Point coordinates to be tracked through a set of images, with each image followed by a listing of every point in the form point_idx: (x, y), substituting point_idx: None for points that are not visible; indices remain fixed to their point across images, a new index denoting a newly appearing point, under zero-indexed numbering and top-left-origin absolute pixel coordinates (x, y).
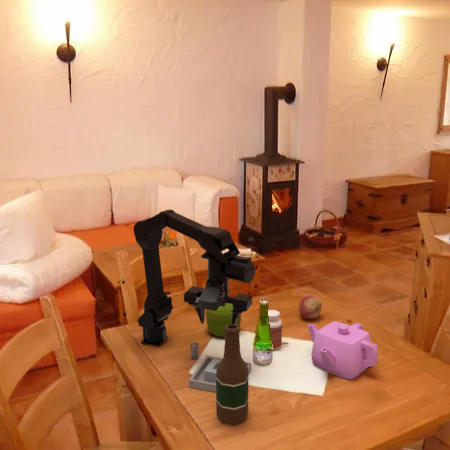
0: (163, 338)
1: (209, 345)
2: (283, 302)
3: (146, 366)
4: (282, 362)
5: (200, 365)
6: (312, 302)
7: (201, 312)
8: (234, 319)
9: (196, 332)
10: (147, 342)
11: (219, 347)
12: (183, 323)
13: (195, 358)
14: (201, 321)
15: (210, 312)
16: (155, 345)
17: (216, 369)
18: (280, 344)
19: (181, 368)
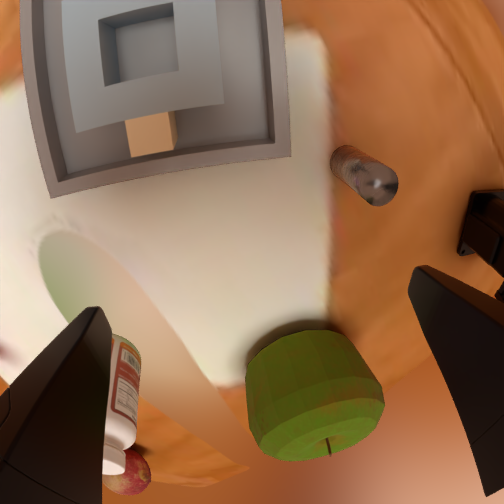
0: (476, 222)
1: (318, 272)
2: (211, 465)
3: (471, 57)
4: (19, 282)
5: (278, 51)
6: (110, 483)
7: (498, 346)
8: (11, 397)
9: (382, 317)
10: (499, 196)
11: (274, 277)
12: (421, 333)
13: (339, 150)
14: (439, 275)
15: (368, 398)
16: (481, 191)
17: (148, 5)
18: None
19: (365, 61)
